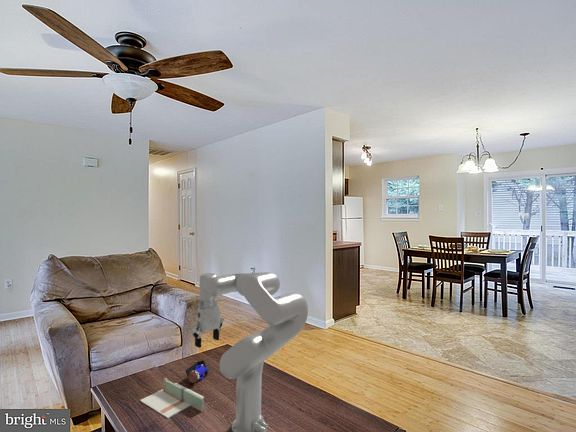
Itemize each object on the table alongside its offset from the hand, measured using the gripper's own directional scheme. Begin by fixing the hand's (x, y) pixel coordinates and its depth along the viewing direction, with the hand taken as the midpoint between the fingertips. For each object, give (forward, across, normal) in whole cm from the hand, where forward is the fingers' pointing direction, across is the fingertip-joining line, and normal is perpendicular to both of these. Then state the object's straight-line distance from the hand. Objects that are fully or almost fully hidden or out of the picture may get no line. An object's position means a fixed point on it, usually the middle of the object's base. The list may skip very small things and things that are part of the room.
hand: (207, 343), depth 139 cm
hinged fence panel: (+25, -5, +3) cm, 26 cm away
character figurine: (+26, +11, +18) cm, 34 cm away
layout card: (+26, -7, +14) cm, 30 cm away
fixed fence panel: (+26, -5, +16) cm, 31 cm away
